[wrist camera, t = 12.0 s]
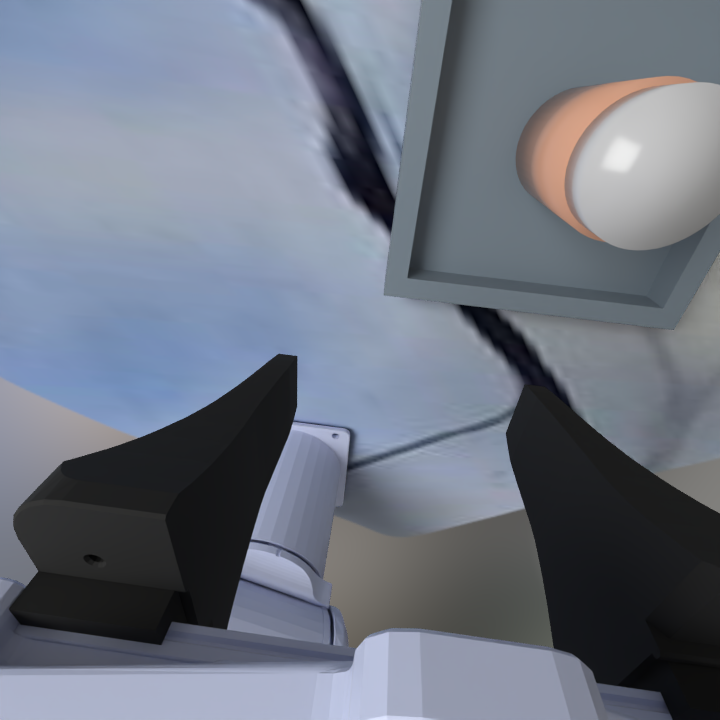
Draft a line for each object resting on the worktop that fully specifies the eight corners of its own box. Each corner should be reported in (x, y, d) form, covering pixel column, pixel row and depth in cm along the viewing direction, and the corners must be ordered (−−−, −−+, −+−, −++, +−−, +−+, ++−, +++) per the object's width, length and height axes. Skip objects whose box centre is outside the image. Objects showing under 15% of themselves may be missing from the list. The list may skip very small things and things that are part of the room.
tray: (385, 277, 21) (383, 295, 19) (434, -101, 14) (440, -138, 12) (646, 308, 21) (673, 329, 19) (841, -63, 14) (922, -95, 11)
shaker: (502, 197, 18) (549, 245, 12) (536, 79, 16) (619, 59, 9) (599, 211, 18) (700, 267, 12) (650, 93, 15) (812, 84, 9)
